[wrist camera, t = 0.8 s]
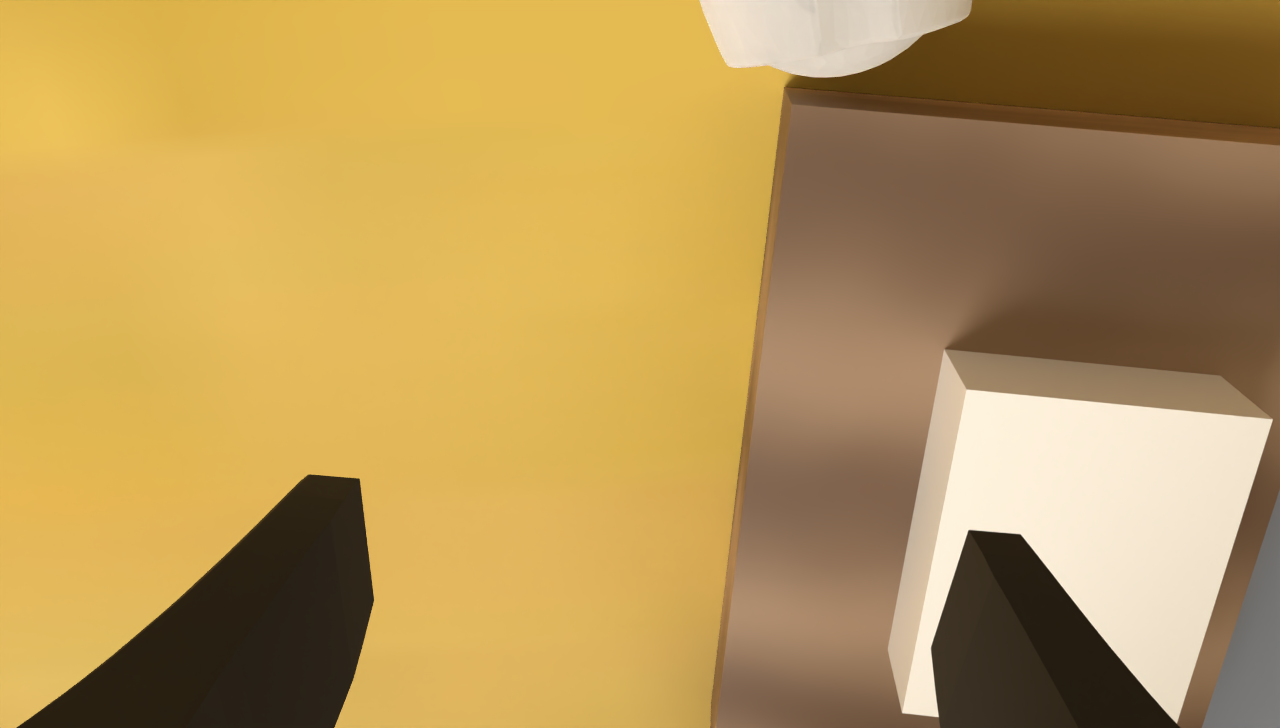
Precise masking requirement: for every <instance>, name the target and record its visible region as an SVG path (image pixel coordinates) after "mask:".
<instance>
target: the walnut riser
mask: <svg viewBox="0 0 1280 728" xmlns="http://www.w3.org/2000/svg"><path fill="white" fill-rule="evenodd" d="M944 349H947V350H958V351H968V352H979V353H989V354H1000V355H1010V356H1021V357H1031V358H1041V359H1052V360H1062V361H1073V362H1083V363H1094V364H1104V365H1115V366H1125V367H1135V368H1146V369H1156V370H1167V371H1177V372H1188V373H1198V374H1209V375H1219V376H1221V377H1223V378H1224V379H1225V380H1226V381H1227V382H1229V383H1230V384H1231V385H1232V386H1233V387H1235V388H1236V389H1237V390H1238V391H1239V392H1241V393H1242V394H1243V395H1244V396H1245V397H1247V398H1248V399H1249V400H1250V401H1251V402H1253V403H1254V404H1255V405H1256V406H1257V407H1259V408H1260V409H1261V410H1262V411H1263V412H1265V413H1266V414H1267V415H1268V416H1269V417H1271V418H1272V419H1273V421H1272V424H1271V427H1270V430H1269V434H1268V437H1267V440H1266V443H1265V446H1264V449H1263V453H1262V456H1261V459H1260V462H1259V465H1258V468H1257V472H1256V475H1255V478H1254V481H1253V484H1252V487H1251V491H1250V494H1249V497H1248V500H1247V503H1246V506H1245V509H1244V513H1243V516H1242V519H1241V522H1240V525H1239V528H1238V532H1237V535H1236V538H1235V541H1234V544H1233V547H1232V551H1231V554H1230V557H1229V560H1228V563H1227V566H1226V570H1225V573H1224V576H1223V579H1222V582H1221V585H1220V589H1219V592H1218V595H1217V598H1216V601H1215V604H1214V608H1213V611H1212V614H1211V617H1210V620H1209V623H1208V627H1207V630H1206V633H1205V636H1204V639H1203V642H1202V646H1201V649H1200V652H1199V655H1198V658H1197V661H1196V665H1195V668H1194V671H1193V674H1192V677H1191V680H1190V684H1189V687H1188V690H1187V693H1186V696H1185V699H1184V703H1183V706H1182V709H1181V712H1180V715H1179V718H1178V722H1177V725H1178V726H1179V727H1180V728H1202V726H1203V723H1204V720H1205V716H1206V713H1207V710H1208V707H1209V704H1210V701H1211V698H1212V695H1213V692H1214V689H1215V686H1216V683H1217V680H1218V677H1219V674H1220V671H1221V668H1222V665H1223V661H1224V658H1225V655H1226V652H1227V649H1228V646H1229V643H1230V640H1231V637H1232V634H1233V631H1234V628H1235V625H1236V622H1237V619H1238V616H1239V613H1240V609H1241V606H1242V603H1243V600H1244V597H1245V594H1246V591H1247V588H1248V585H1249V582H1250V579H1251V576H1252V573H1253V570H1254V567H1255V564H1256V561H1257V558H1258V554H1259V551H1260V548H1261V545H1262V542H1263V539H1264V536H1265V533H1266V530H1267V527H1268V524H1269V521H1270V518H1271V515H1272V512H1273V509H1274V506H1275V503H1276V499H1277V496H1278V493H1279V490H1280V128H1269V127H1257V126H1245V125H1233V124H1221V123H1209V122H1197V121H1185V120H1173V119H1161V118H1149V117H1137V116H1125V115H1113V114H1101V113H1089V112H1077V111H1065V110H1053V109H1041V108H1029V107H1017V106H1005V105H993V104H981V103H969V102H957V101H945V100H933V99H921V98H909V97H897V96H885V95H873V94H861V93H849V92H837V91H825V90H813V89H801V88H789V87H784V93H783V101H782V110H781V118H780V127H779V135H778V144H777V152H776V161H775V169H774V177H773V186H772V194H771V203H770V211H769V220H768V228H767V237H766V245H765V253H764V262H763V270H762V279H761V287H760V296H759V304H758V312H757V321H756V329H755V338H754V346H753V355H752V363H751V372H750V380H749V388H748V397H747V405H746V414H745V422H744V431H743V439H742V447H741V456H740V464H739V473H738V481H737V490H736V498H735V507H734V515H733V523H732V532H731V540H730V549H729V557H728V566H727V574H726V582H725V591H724V599H723V608H722V616H721V625H720V633H719V642H718V650H717V658H716V667H715V675H714V684H713V692H712V701H711V726H710V728H940V723H939V717H932V716H923V715H915V714H906V713H902V711H901V706H900V702H899V697H898V693H897V688H896V684H895V680H894V675H893V671H892V666H891V662H890V658H889V653H888V645H889V640H890V634H891V629H892V624H893V618H894V613H895V608H896V602H897V597H898V592H899V586H900V581H901V576H902V570H903V565H904V560H905V554H906V549H907V544H908V539H909V533H910V528H911V523H912V517H913V512H914V507H915V501H916V496H917V491H918V485H919V480H920V475H921V469H922V464H923V459H924V453H925V448H926V443H927V437H928V432H929V427H930V422H931V416H932V411H933V406H934V400H935V395H936V390H937V384H938V379H939V374H940V368H941V363H942V358H943V352H944Z"/></svg>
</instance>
